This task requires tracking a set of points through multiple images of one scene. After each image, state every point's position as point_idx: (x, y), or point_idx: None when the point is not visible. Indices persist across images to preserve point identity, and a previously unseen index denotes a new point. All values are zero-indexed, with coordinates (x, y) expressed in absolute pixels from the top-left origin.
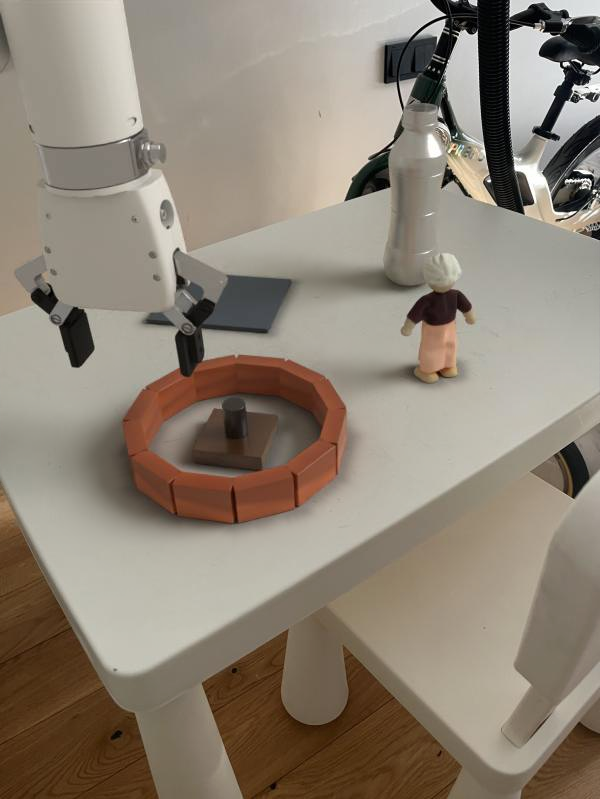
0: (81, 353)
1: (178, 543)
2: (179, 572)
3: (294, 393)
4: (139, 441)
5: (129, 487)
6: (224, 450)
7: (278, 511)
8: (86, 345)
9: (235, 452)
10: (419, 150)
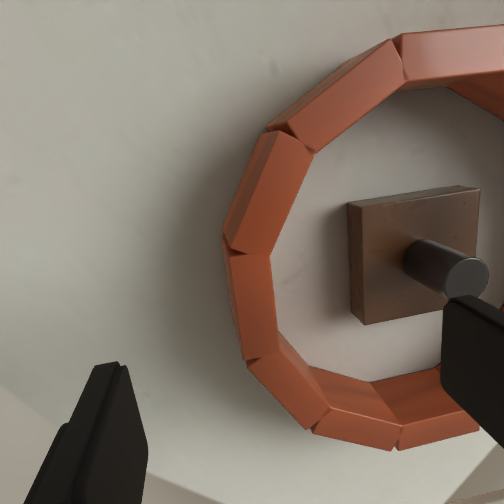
0: (138, 458)
1: None
2: (397, 465)
3: (495, 100)
4: (308, 399)
5: None
6: (414, 309)
7: None
8: (128, 430)
9: (431, 307)
10: None
